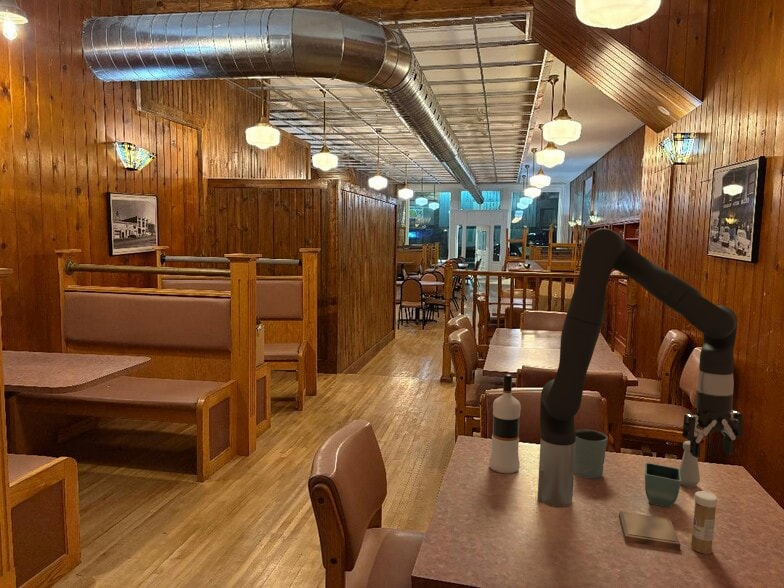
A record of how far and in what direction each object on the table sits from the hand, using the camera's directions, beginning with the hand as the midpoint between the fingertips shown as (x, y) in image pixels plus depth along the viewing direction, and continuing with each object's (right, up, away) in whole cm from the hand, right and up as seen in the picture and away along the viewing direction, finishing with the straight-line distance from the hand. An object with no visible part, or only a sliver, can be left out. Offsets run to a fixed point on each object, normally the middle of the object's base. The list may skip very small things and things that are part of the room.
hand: (711, 454), depth 134 cm
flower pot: (-3, -19, +19) cm, 27 cm away
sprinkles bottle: (-5, -21, -4) cm, 22 cm away
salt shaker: (+10, -18, +29) cm, 36 cm away
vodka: (-42, -16, +39) cm, 59 cm away
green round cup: (-17, -16, +37) cm, 44 cm away
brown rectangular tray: (-14, -20, +3) cm, 25 cm away
